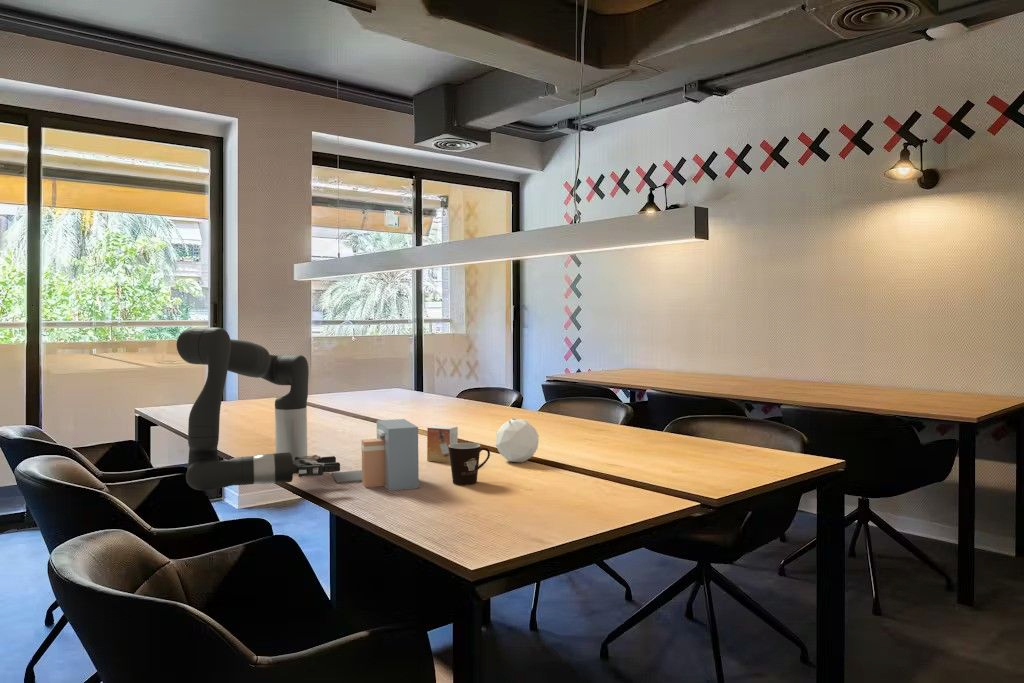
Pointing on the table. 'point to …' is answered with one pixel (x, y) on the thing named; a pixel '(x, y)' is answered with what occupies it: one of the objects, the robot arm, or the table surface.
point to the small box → (440, 442)
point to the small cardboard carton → (373, 462)
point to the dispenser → (400, 453)
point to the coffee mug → (465, 462)
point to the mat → (348, 476)
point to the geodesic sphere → (517, 440)
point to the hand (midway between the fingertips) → (337, 463)
